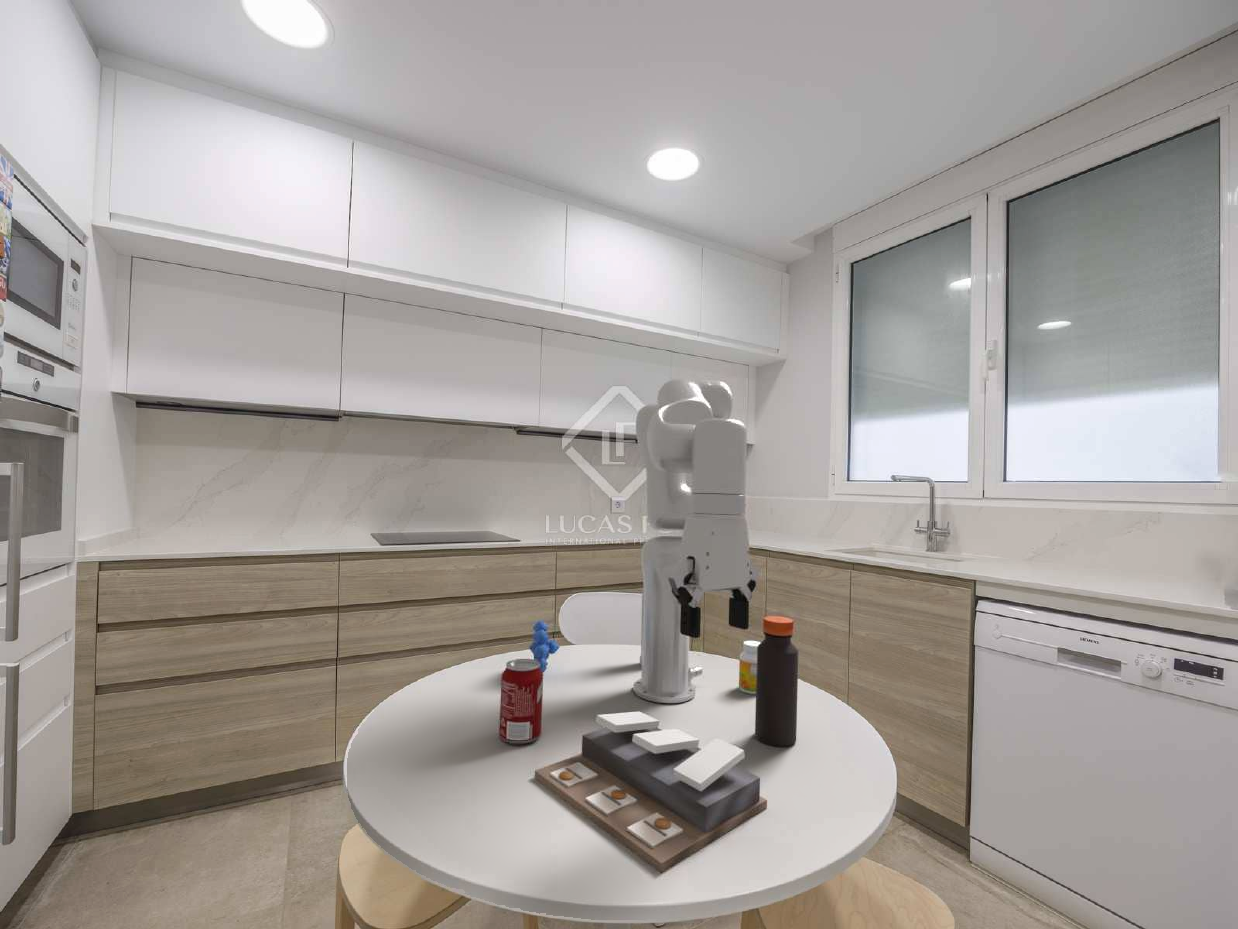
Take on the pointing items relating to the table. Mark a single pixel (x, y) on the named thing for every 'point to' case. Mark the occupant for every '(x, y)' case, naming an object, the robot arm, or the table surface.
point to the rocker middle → (665, 740)
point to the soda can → (521, 701)
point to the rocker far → (627, 721)
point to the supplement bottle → (748, 667)
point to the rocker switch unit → (650, 796)
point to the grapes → (542, 645)
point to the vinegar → (776, 684)
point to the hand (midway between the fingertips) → (715, 631)
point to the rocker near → (708, 764)
